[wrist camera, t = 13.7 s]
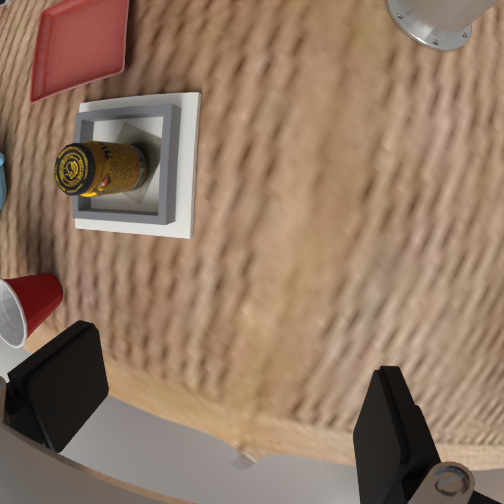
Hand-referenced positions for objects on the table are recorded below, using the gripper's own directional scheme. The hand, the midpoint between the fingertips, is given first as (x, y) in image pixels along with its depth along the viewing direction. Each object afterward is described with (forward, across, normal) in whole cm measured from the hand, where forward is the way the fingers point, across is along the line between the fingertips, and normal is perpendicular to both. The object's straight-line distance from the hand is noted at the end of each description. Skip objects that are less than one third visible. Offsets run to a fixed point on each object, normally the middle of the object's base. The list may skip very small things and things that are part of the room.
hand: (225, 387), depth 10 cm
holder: (+30, +20, -7) cm, 37 cm away
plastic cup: (+30, +37, +13) cm, 50 cm away
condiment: (+29, +19, -7) cm, 36 cm away
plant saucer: (+31, +31, -27) cm, 51 cm away
